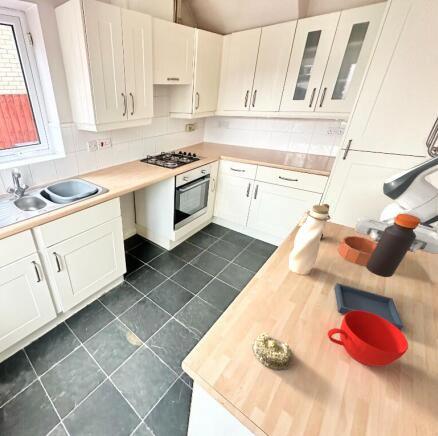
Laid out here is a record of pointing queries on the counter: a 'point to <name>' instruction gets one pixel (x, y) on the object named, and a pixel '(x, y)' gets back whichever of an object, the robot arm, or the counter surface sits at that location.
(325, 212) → the water bottle
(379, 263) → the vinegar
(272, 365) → the seeded bagel
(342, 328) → the ceramic cup
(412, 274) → the counter surface
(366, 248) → the bowl
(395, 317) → the tray
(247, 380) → the counter surface
